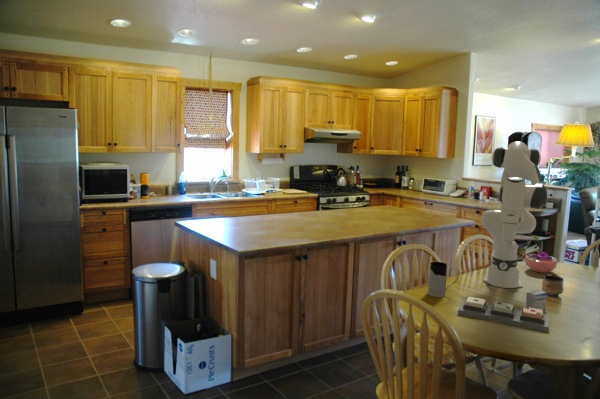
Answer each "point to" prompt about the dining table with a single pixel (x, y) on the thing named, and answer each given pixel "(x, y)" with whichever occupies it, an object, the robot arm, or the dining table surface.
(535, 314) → the key three
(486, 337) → the dining table surface
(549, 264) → the cell model
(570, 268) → the dining table surface
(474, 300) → the key one
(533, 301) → the medicine box
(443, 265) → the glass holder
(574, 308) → the dining table surface
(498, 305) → the key two
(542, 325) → the key panel
